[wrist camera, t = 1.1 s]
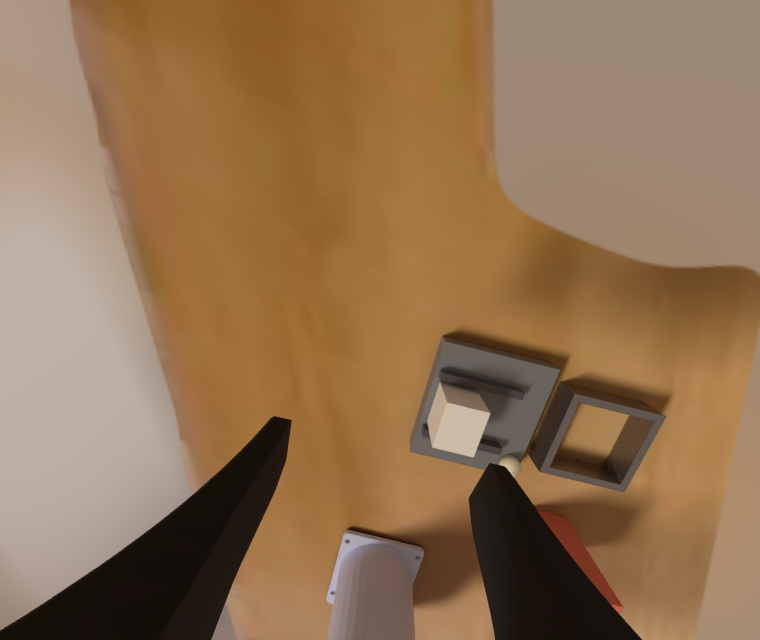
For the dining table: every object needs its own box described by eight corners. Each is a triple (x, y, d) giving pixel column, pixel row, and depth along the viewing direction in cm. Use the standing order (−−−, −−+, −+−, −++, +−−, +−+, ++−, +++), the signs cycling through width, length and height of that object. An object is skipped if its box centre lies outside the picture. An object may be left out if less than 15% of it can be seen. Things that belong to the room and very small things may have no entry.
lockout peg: (549, 549, 28) (599, 645, 21) (508, 539, 28) (546, 633, 21) (565, 516, 27) (623, 607, 20) (523, 506, 27) (567, 594, 20)
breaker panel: (507, 464, 26) (518, 484, 24) (409, 440, 26) (411, 458, 23) (550, 362, 23) (566, 374, 21) (442, 335, 23) (447, 344, 21)
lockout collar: (606, 473, 26) (624, 492, 24) (528, 454, 25) (539, 471, 24) (644, 402, 24) (666, 416, 22) (560, 381, 24) (574, 393, 22)
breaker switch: (463, 429, 23) (473, 457, 20) (427, 421, 23) (432, 447, 20) (477, 390, 23) (490, 413, 19) (439, 381, 22) (447, 402, 19)
